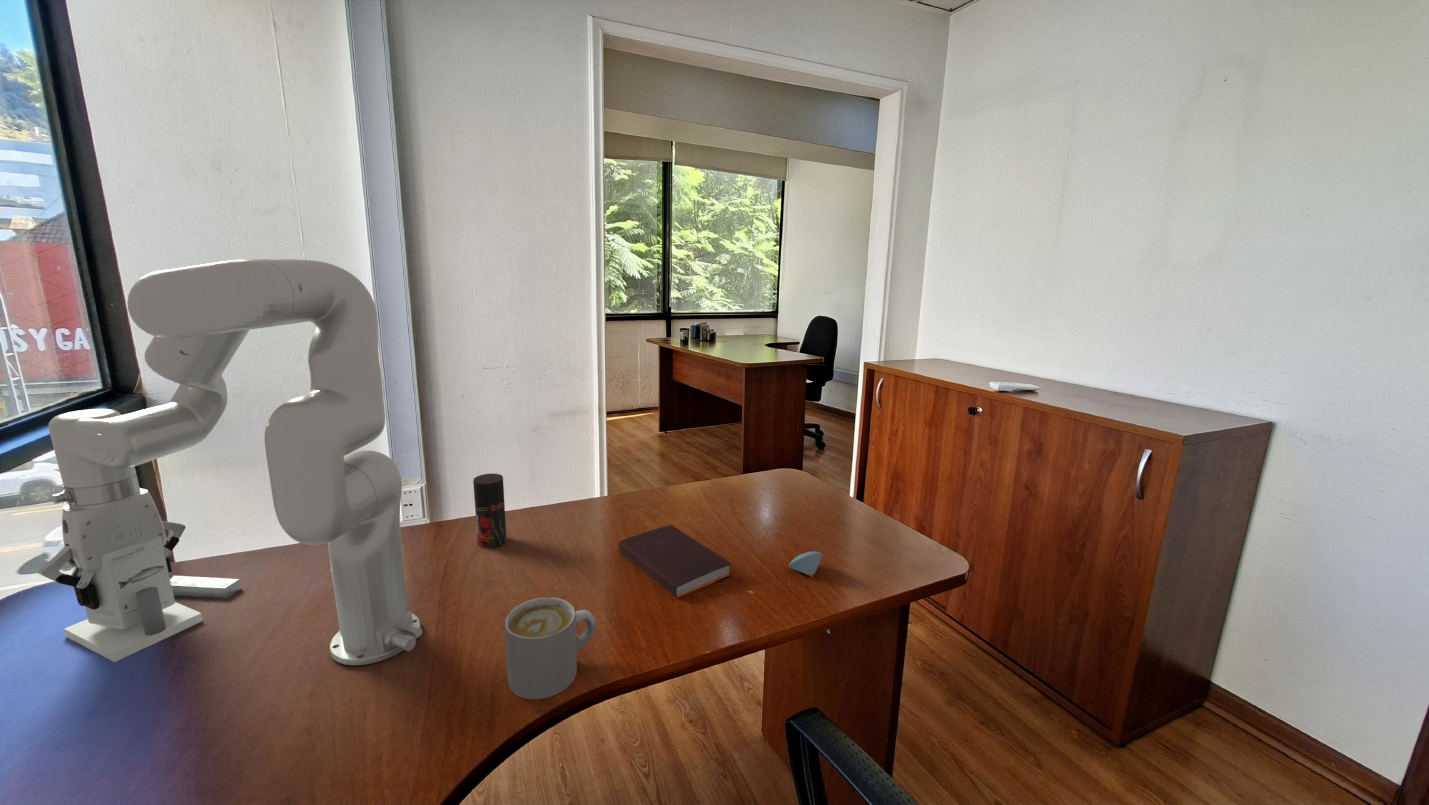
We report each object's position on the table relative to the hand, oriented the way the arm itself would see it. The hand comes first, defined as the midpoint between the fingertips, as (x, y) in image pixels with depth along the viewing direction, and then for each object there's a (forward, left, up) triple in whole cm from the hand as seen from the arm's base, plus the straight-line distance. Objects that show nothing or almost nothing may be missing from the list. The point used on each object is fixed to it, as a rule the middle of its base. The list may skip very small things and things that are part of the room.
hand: (128, 591), depth 89 cm
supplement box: (0, 0, -4) cm, 4 cm away
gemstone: (-96, -65, -7) cm, 116 cm away
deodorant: (-30, -47, -7) cm, 56 cm away
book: (-70, -56, -7) cm, 90 cm away
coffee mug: (-67, -20, -7) cm, 70 cm away
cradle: (0, 0, -7) cm, 7 cm away
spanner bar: (+5, -10, -7) cm, 13 cm away
